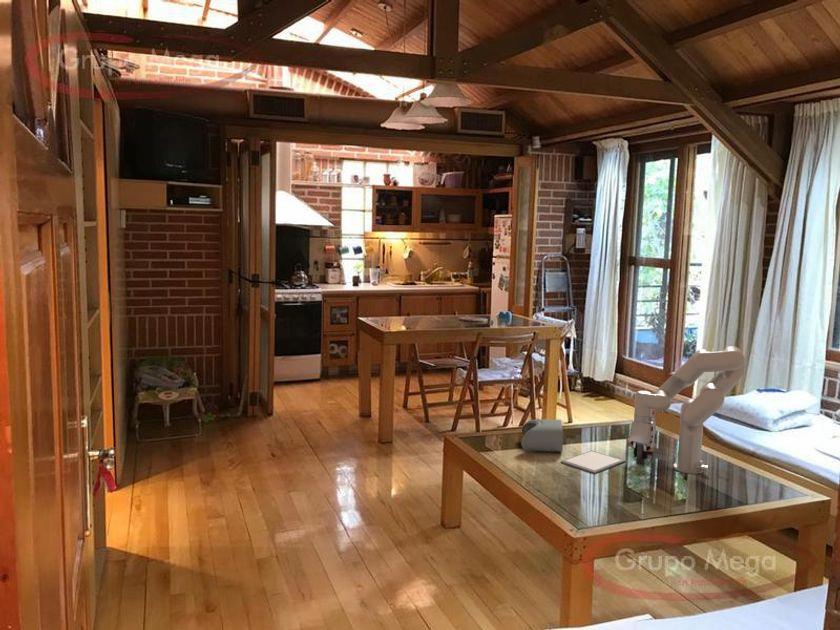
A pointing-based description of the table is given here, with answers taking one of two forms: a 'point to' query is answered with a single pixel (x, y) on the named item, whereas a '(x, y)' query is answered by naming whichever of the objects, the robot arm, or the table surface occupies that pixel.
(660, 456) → the table surface
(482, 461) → the table surface
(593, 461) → the notepad
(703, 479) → the table surface
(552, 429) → the grey rounded block
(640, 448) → the marker
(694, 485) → the table surface
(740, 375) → the robot arm
